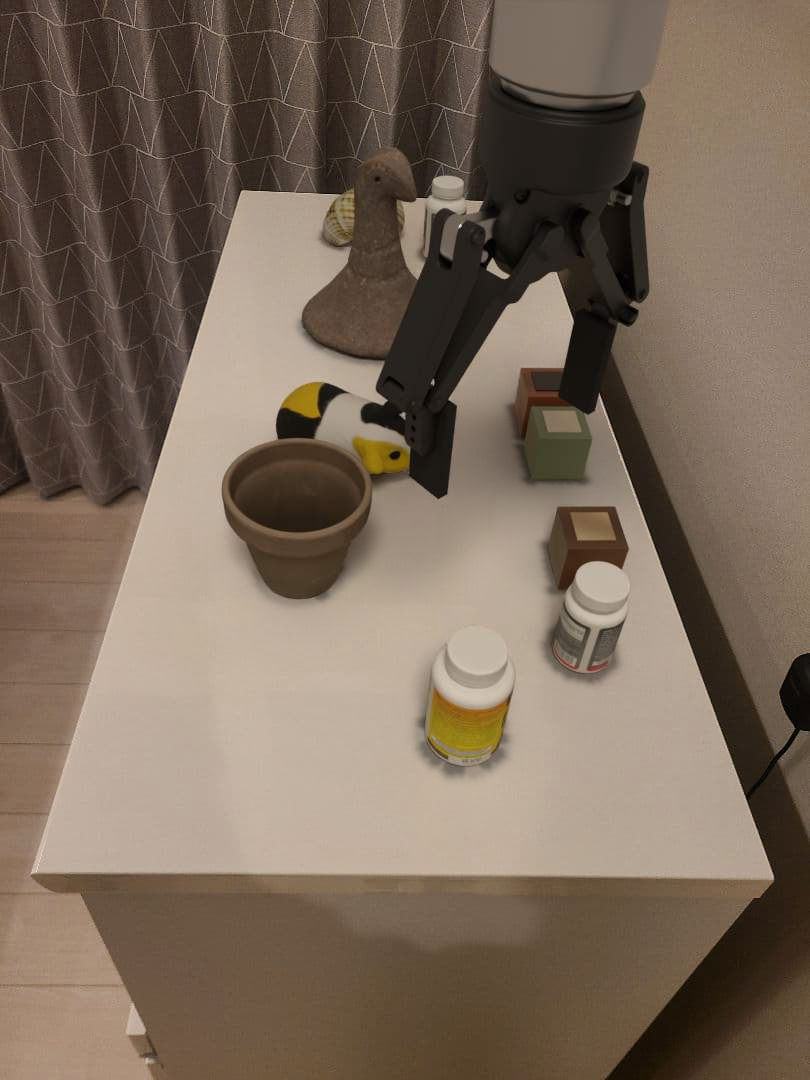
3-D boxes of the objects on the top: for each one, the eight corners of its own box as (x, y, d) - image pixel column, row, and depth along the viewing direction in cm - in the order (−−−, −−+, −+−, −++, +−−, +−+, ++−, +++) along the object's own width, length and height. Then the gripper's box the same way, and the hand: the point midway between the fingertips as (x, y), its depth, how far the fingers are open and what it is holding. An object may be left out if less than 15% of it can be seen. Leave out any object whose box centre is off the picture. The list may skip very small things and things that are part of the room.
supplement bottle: (507, 767, 58) (529, 682, 51) (428, 772, 58) (440, 687, 51) (493, 699, 62) (512, 612, 55) (419, 704, 62) (429, 616, 54)
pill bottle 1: (470, 257, 111) (478, 183, 104) (440, 268, 109) (447, 194, 102) (443, 242, 114) (449, 169, 107) (413, 252, 112) (417, 179, 105)
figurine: (399, 512, 76) (403, 443, 70) (260, 460, 80) (253, 391, 75) (437, 461, 81) (444, 393, 76) (304, 415, 86) (301, 347, 80)
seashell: (305, 235, 112) (324, 157, 108) (349, 246, 120) (368, 173, 116) (363, 256, 107) (384, 175, 104) (404, 266, 115) (426, 191, 112)
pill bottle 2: (610, 631, 67) (635, 561, 61) (612, 679, 64) (638, 609, 58) (551, 623, 68) (571, 552, 62) (550, 670, 64) (570, 600, 58)
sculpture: (427, 374, 92) (441, 194, 77) (282, 347, 94) (270, 167, 80) (460, 301, 103) (477, 131, 89) (330, 278, 106) (327, 109, 92)
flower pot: (397, 560, 72) (402, 471, 65) (316, 646, 65) (312, 558, 58) (291, 506, 76) (285, 417, 69) (205, 582, 69) (188, 492, 62)
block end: (569, 437, 85) (579, 395, 81) (521, 437, 85) (528, 395, 81) (560, 407, 89) (569, 366, 85) (513, 407, 88) (520, 366, 85)
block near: (615, 589, 71) (629, 547, 67) (557, 589, 70) (568, 547, 67) (602, 547, 74) (615, 504, 70) (547, 547, 74) (557, 504, 70)
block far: (582, 479, 80) (593, 437, 77) (531, 479, 80) (539, 437, 76) (572, 446, 84) (582, 405, 80) (523, 446, 84) (531, 404, 80)
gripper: (665, 23, 46) (588, 351, 62) (298, 109, 34) (314, 490, 50) (784, 59, 43) (671, 399, 58) (417, 169, 31) (396, 563, 46)
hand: (506, 442), depth 54 cm, fingers open, 13 cm apart
